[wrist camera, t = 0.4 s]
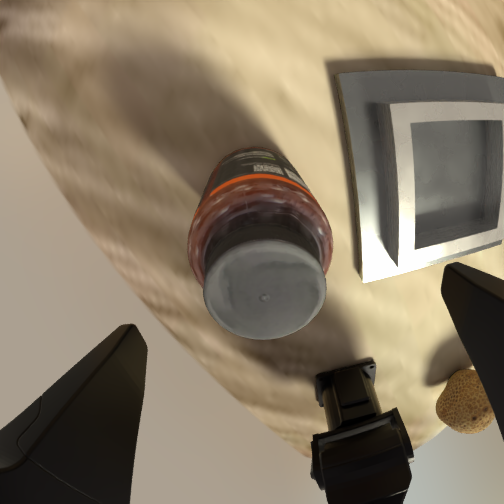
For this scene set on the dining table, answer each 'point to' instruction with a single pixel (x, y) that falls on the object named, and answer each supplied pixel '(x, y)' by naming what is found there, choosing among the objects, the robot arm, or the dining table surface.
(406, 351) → the dining table surface
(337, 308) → the dining table surface
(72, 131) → the dining table surface
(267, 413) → the dining table surface
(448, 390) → the natural sponge
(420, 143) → the grey square tray
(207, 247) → the supplement bottle
